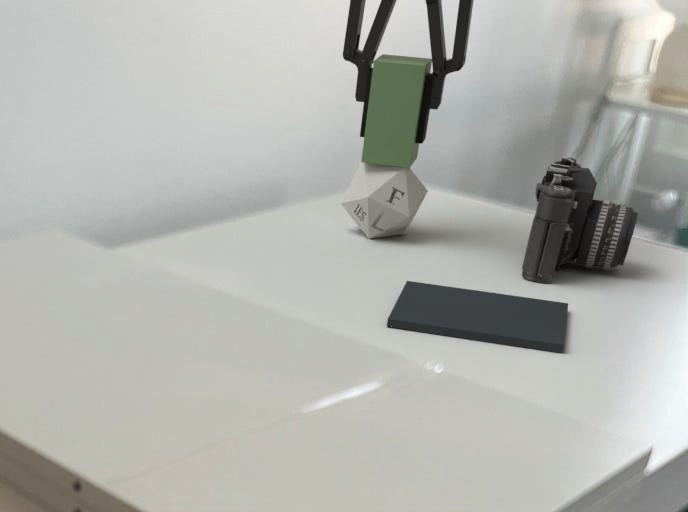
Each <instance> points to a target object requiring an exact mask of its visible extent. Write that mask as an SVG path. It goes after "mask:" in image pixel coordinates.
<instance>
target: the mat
mask: <svg viewBox="0 0 688 512" xmlns="http://www.w3.org/2000/svg"><path fill="white" fill-rule="evenodd" d="M568 311H569V303H568V302H562V301H556V300H555V301H554V300H549V299H547V300H546V299H541V298H534V297H526V296H519V295H511V294H504V293H499V292H497V293H496V292H490V291H483V290H477V289H468V288H461V287H455V286H446V285H441V284H440V285H439V284H432V283H426V282H418V281H412V280H406V282H405V284H404V286H403V288H402V290H401V292H400V294H399V296H398V297H397V299H396V302H395V304H394V306H393V307H392V310H391V312H390V314H389V316H388V318H387V321H386V327H387V326H392V327H397V328H396V329H399V328H401V329H400V330H405V329H406V330H405V331H412V332H419V333H426V334H433V335H439V336H446V337H452V338H458V339H466V340H474V341H480V342H486V343H494V344H499V345H504V346H505V345H506V346H512V347H519V348H524V349H525V348H526V349H533V350H540V351H546V352H553V353H559V354H562V353H563V352H564V349H565V344H566V343H565V342H566V331H567V320H568ZM392 327H391V328H392Z"/></svg>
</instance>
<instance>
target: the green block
mask: <svg viewBox="0 0 688 512" xmlns="http://www.w3.org/2000/svg"><path fill="white" fill-rule="evenodd" d="M432 66H433V65H432V58H428V57H415V56H405V55H397V54H395V55H394V54H384V53H383V54H381V55H380V56H378V57H377V58H375V59H374V62H373V64H372V68H373V72H372V80H371V88H370V96H369V104H368V112H367V120H366V128H365V136H364V137H363V138H364V139H363V145H362V146H363V147H362V153H361V160H360V163H361V162H364V163H372V164H381V165H389V166H398V167H406V168H410V169H411V167H412V165H414V163H415V161H416V160H417V159H418V155H419V147H420V143H415V142H416V136H417V129H418V122H419V116H420V109H421V103H422V96H423V90H424V83H425V77H426V75H427V74H428V73H431V72H432V71H431V69H432Z"/></svg>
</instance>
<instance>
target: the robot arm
mask: <svg viewBox="0 0 688 512" xmlns="http://www.w3.org/2000/svg"><path fill="white" fill-rule="evenodd" d="M349 1H350V2H349V7H348V15H347V22H346V27H345V36H344V43H343V48H342V49H343V50H342V58H343V60H344V61H346V62H349V63H351V64H353V65H355V66H356V68H357V77H356V86H355V95H354V97H355V101H356V102H359V103H363V107H362V114H361V115H362V116H361V124H360V130H359V137H360V138H364V136H365V128H366V120H367V112H368V104H369V96H370V88H371V80H372V72H373V64H374V60H375V59H376V56H377V52H378V50H379V47H380V45H381V42H382V39H383V37H384V34H385V32H386V30H387V26H388V24H389V21H390V19H391V16H392V14H393V11H394V8H395V5H396V3H397V0H380V2H379V6H378V9H377V11H376V13H375V16H374V19H373V21H372V24H371V27H370V30H369V33H368V36H367V38H366V40H365V44H364V46H363V48H362V50H361V49H359V48H360V41H361V34H362V27H363V22H364V14H365V8H366V2H367V1H366V0H349ZM425 4H426V12H427V13H426V14H427V23H428V34H429V44H430V54H431V59H432V65H431V66H432V71H431V72H430V73H428V74H427V75H426V77H425V83H424V90H423V96H422V103H421V109H420V116H419V122H418V129H417V136H416V142H415V143H419V145H420V144H424V141H425V140H426V137H427V131H428V123H429V118H430V111H431V110H438V109H439V108H440V106H441V104H442V100H443V94H444V87H445V81H446V77H447V75H449V74H451V73H456V72H459V71H461V70H462V69H463V67H464V66H465V64H466V59H467V52H468V44H469V36H470V30H471V22H472V14H473V6H474V0H459V1H458V9H457V16H456V24H455V26H456V27H455V33H454V41H453V48H452V56H451V58H447V48H446V37H445V36H446V35H445V26H444V25H445V24H444V15H443V5H442V0H425Z"/></svg>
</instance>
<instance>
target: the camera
mask: <svg viewBox="0 0 688 512" xmlns="http://www.w3.org/2000/svg"><path fill="white" fill-rule="evenodd" d="M597 184H598V182H597V181H596V179H595V177H594V175H593V173H592V171H591V170H590V168H589V167H582V166H581V164H579V163H577V159H576V158H573V157H566V158H564V157H561V160H557V161H555V162H554V163H553V162H552V163H551V164H550V166H548V167H547V169H546V172H545V175H543V177H542V180H541V182H537V183H536V186H535V192H534V195H535V199H536V202H537V206H536V209H535V214H534V217H533V220H532V224H531V228H530V232H529V235H528V239H527V240H528V241H527V245H526V249H525V253H524V257H523V262H522V266H521V269H522V271H521V276H522V277H523V279H524V280H527V281H530V282H534V283H541V284H550V283H552V280H553V279H554V276H555V272H556V271H559V270H560V266H561V265H565V264H568V263H571V262H575V263H574V264H575V265H579V266H584V267H585V268H590V269H591V268H597V267H599V268H602V269H605V270H606V269H607V270H609V268H613V269H615V268H617V267H618V266H624V264H625V260H626V258H627V255H628V252H629V248H630V244H631V241H632V238H633V235H634V231H635V227H636V224H637V221H638V215H639V212H637V211H634V209H633V207H629V206H627V204H623V203H621V204H618V203H617V204H616V203H615V202H611V201H610V200H609V199H603V200H598V199H594V196H595V193H596V188H597Z"/></svg>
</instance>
